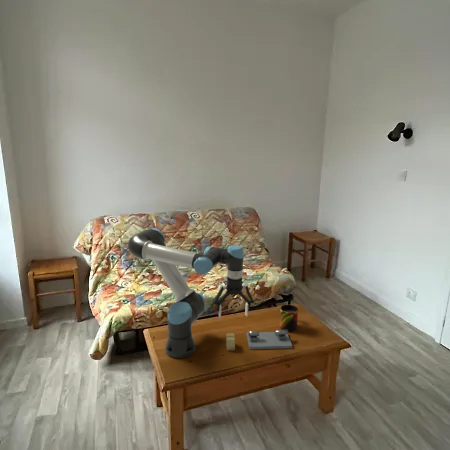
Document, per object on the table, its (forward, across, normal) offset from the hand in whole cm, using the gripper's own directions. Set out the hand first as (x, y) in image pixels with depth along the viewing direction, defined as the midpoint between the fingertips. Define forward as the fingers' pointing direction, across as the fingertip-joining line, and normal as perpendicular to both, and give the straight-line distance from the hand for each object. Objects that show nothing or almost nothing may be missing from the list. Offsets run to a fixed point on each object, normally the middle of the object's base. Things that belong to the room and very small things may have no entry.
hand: (233, 315), depth 174 cm
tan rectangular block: (+17, -1, -1) cm, 17 cm away
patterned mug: (+17, +34, +15) cm, 41 cm away
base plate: (+16, +20, +1) cm, 26 cm away
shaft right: (+15, +26, +1) cm, 30 cm away
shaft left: (+15, +11, +2) cm, 19 cm away
